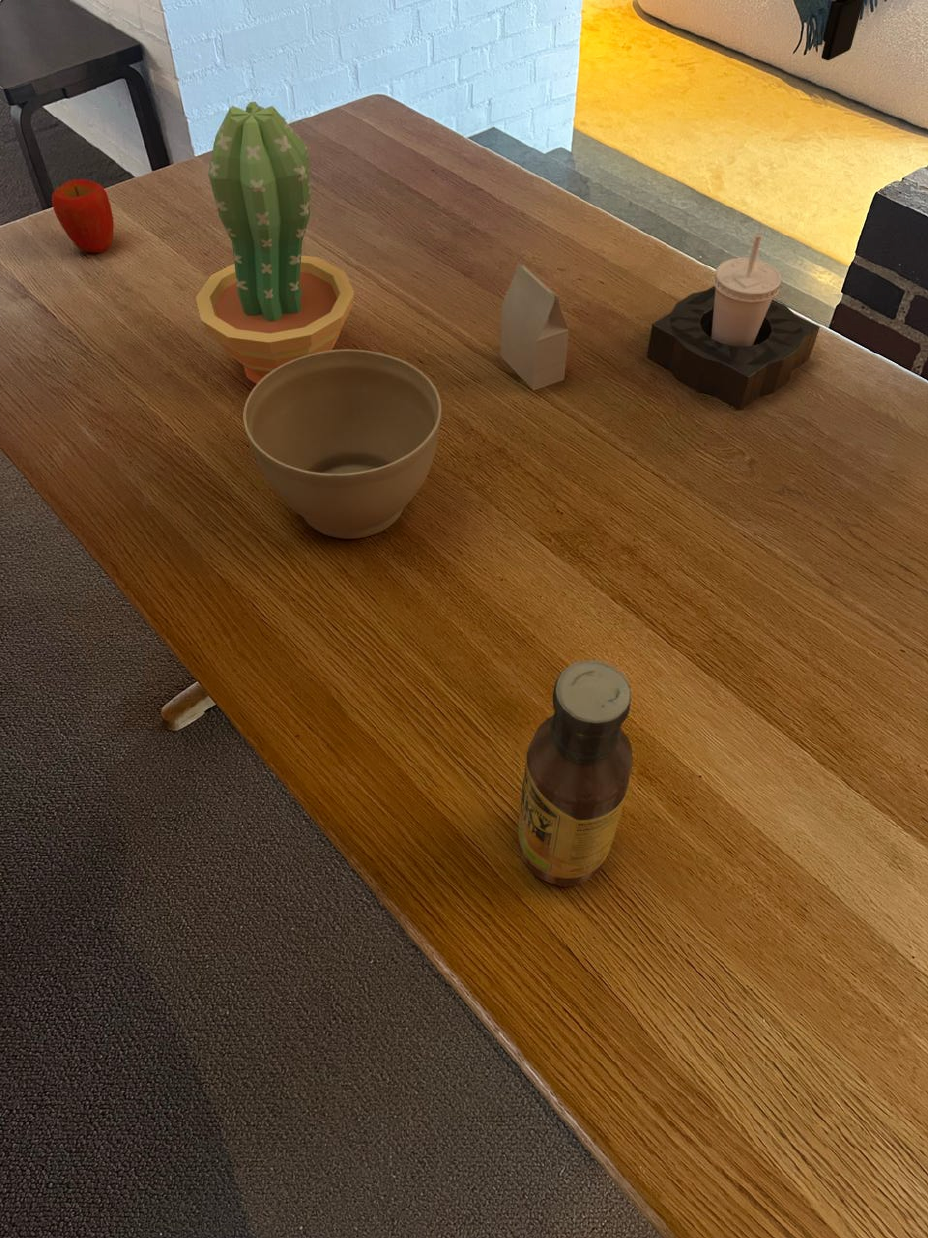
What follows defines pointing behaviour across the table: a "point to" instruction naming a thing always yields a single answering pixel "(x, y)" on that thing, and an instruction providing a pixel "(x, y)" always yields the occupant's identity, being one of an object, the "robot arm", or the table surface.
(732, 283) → the smoothie
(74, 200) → the apple
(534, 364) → the gable top carton
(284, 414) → the planter bowl
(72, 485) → the table surface
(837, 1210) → the table surface
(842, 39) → the robot arm
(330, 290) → the potted cactus
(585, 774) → the sauce bottle
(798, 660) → the table surface
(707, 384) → the holder plate
